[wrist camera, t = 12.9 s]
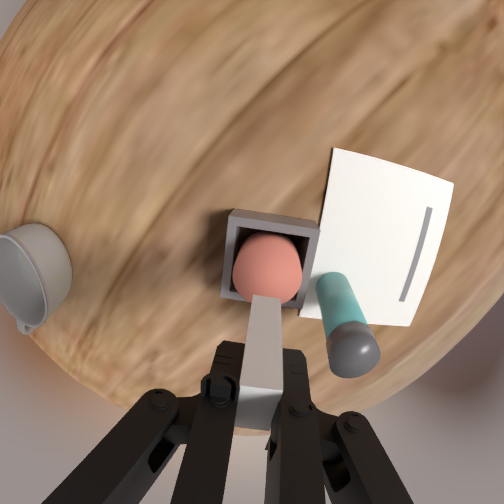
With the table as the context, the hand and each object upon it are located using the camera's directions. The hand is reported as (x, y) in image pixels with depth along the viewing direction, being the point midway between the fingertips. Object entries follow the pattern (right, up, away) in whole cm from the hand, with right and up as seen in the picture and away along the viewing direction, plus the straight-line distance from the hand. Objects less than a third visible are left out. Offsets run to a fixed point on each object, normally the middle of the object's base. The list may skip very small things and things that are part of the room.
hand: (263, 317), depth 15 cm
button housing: (+1, +4, +9) cm, 10 cm away
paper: (+11, +4, +8) cm, 15 cm away
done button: (+1, +3, +8) cm, 8 cm away
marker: (+7, 0, +10) cm, 12 cm away
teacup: (-26, +2, +13) cm, 29 cm away
